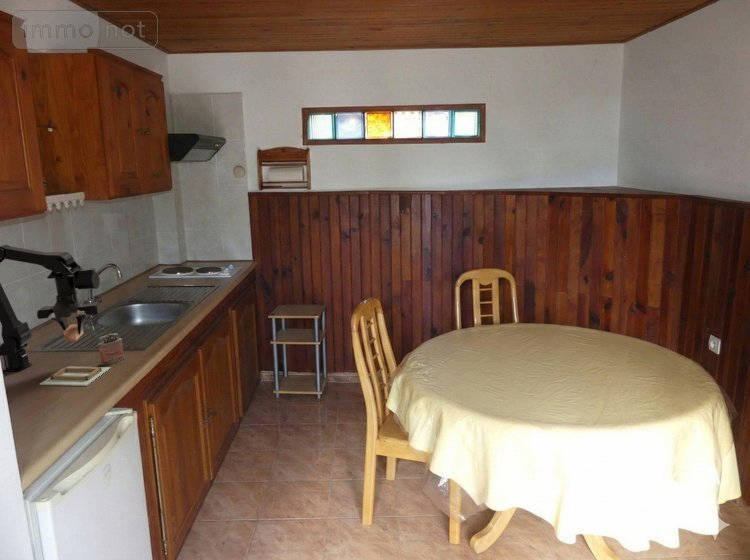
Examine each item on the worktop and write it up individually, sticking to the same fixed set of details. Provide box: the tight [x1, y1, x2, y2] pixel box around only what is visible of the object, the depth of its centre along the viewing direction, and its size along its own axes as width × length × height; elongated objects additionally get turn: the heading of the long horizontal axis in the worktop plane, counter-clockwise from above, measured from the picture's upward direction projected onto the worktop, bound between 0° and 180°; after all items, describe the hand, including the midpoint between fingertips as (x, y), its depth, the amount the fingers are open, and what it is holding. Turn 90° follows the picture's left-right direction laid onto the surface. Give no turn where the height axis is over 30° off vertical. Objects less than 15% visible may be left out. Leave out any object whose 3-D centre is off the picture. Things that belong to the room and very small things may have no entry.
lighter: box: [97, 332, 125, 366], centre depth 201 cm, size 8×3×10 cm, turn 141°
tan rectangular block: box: [63, 323, 84, 343], centre depth 197 cm, size 4×8×4 cm, turn 10°
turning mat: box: [39, 366, 112, 387], centre depth 190 cm, size 16×14×2 cm
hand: (73, 334), depth 197 cm, fingers closed on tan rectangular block, 3 cm apart
